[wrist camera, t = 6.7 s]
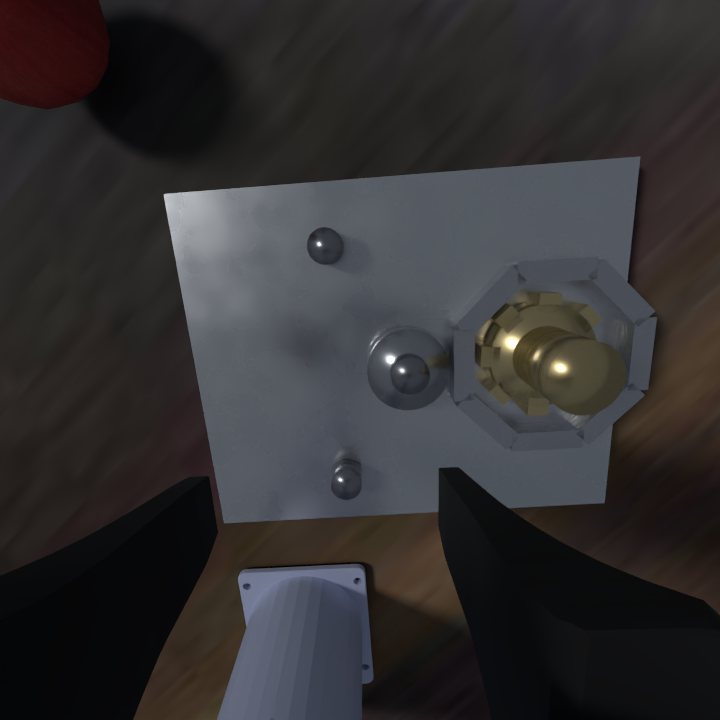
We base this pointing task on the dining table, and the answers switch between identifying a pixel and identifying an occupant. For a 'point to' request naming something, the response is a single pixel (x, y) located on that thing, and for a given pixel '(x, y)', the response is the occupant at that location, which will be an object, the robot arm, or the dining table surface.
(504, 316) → the gear
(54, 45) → the onion
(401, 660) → the dining table surface
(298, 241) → the carrier plate
